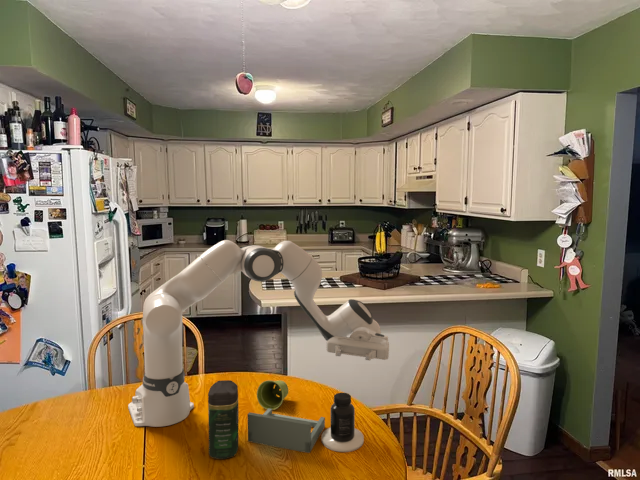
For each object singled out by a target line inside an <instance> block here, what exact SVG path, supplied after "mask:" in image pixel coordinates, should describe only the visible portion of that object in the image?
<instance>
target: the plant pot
mask: <svg viewBox="0 0 640 480" xmlns="http://www.w3.org/2000/svg"><path fill="white" fill-rule="evenodd" d="M257 387H258V388H257V391H256V398H257V402H258V404H259V405H260V406H261V407H262V408H264V409H265V410H267V409H268V408H270V409H272V411H274V410H277V409H279V407H281V406H282V404H283V402H284V400H285V398H286V397H287V396H288V394H289V387H288V384H287V383H286V382H285V381H284V380H281V379H280V380H279V379H278V380H270V379H269V380H268V379H267V380H265V381H262V382H261V383H260V384H259V386H257Z"/></svg>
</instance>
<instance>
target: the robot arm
mask: <svg viewBox="0 0 640 480" xmlns="http://www.w3.org/2000/svg"><path fill="white" fill-rule="evenodd" d="M237 272H242V273H243V274H244V275H245V276H246V277H248V278H249V279H250V280H252V281H254V282H260V283H261V282H266V281H269V280H271V279H272V278H274V277H275V276H277V275H278V274H282V275H283V276H284V277H285V278H286V279H287V280H288V281H290V283H291V284H292V286H293V287H294V292H293V295H294V298H295V300H296V302H297V303H298V304H299V306H300V307H301V309H302V310H303V311H304V313H305V314H306V315H307V316H308V317H309V319H310V320H311V321H312V323H314V325H315V326H316V328H317V330H318V331H319V332H320V334H321V336H322V337H323V338H324V340H325V341H326V344H325V348H326V352H327V353H332V354H335V357H341V356H342V355H346V356H347V355H348V356H354V357H360V358H361V357H362V358H365V359H364V360H365V361H371V360H375V359H376V360H384V361H385V360H388V359H389V358H390V357H389V356H390V342H389V337H388V335H386V334H382V331H381V326H380V324H379V323H378V321H376V320H375V319H374V317H373V314H372V313H371V311H370V309H369V308H368V306H367V305H366V304H365V303H364V302H362V301H360V300H357V299H348V300H346V302H344V303H343V304H341V306H339V307H338V308H337V309H335V311H333V312H332V313H331V314H329V315H326V314H324V313H323V311H322V309H320V307H319V306H318V305H317V304H316V302H315V301H314V297H315V294H316V293H317V291H318V289H319V287H320V285H321V282H322V278H323V270H322V267H321V265H320V263H319V262H318V261H317V260H315V258H314V257H312V256H311V255H310V254H309V253H308V252H307V251H306V250H305V249H303V248H302V246H301V247H300V246H299V245H297V244H296V243H294V242H293V241H291V240H283V241H280V242H279V243H278V244H276V246H274V247H273V248H267V247H265V246H263V245H258V244H248V245H245V246H239V245H237V243H235V242H233V240H229V239H224V240H221V241H218V242H217V243H216V244H214V245H212V246H210V247H209V248H208V249H206V250H205V251H204V252H202V253H201V254H200V255H199V256H198V257H197V258H195V259H194V260H193V261H192V262H190V263H189V264H188V265H187V266H186V267H185V268H184V269H182V270H181V271H180V272H179V273H177V274H176V275H174V276H173V277H172V278H171V277H170V279H169V280H167V281H166V282H164V283H163V284H162V285H160V286H159V287H158V288H156V289H155V290H154V291H152V292H151V293H150V294H148V296H147V297H145V300H144V302H143V307H142V308H143V309H142V329H143V330H142V333H143V351H144V374H143V377H142V384H141V385H139V387H137V388H136V390H135V395H133V396H132V397H131V402H130V403H128V405H127V406H128V407H127V408H128V411H129V414H130V417H131V419H132V422H133V425H134V426H135V427H152V428H153V427H154V428H155V427H156V428H157V427H161V428H162V427H166V426H171V425H174V424H177V423H180V422H182V421H183V420H185V419H186V418H188V417H189V415H190V411H191V410H192V409H194V407H195V406H194V402H191V400H190V399H191V398H190V389H189V384H188V383H187V382H185V376H186V375H185V370H184V368H183V367H184V366H183V313H184V312H185V310H187V309H188V308H190V307H192V306H193V305H195V304H197V303H198V302H200V301H202V300H204V299H205V298H207V297H208V296H209V295H210V294H211V293H212V292H213V291H215V289H217V288H218V287H219V286H220V285H221V284H223V282H225V281H226V280H227V279H228V278H229V277H230V276H231V275H234V274H235V273H237ZM348 336H349V337H348Z"/></svg>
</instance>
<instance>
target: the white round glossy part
mask: <svg viewBox="0 0 640 480" xmlns="http://www.w3.org/2000/svg"><path fill="white" fill-rule="evenodd" d="M320 436H321V438H320V440H321V443H322V445H323V446H324V447H325V448H327V449H329V450H331V451H333V452H337V453H338V452H339V453H350V452H354V451H357V450H359V449H360V448H361V447H362V446H363V445H364V441H365V439H364V438H365V437H364V434H363V432H362V431H361V430H359V429H357V428H355V432H354V438H353V439H352V440H351V441H348V442H338V441H335V440H334V439H332V437H331V426H330V427H327V428H326V429H325V430H323V431H322V433H321V435H320Z"/></svg>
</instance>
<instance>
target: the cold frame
mask: <svg viewBox="0 0 640 480" xmlns="http://www.w3.org/2000/svg"><path fill="white" fill-rule="evenodd" d="M325 420H326V417H323V416H320V418H319V419H318V420H313V419H309V418H308V419H307V418H301V417H295V416H291V415H290V416H289V415H283V414H279V413H273V410H272V409H270V408H268V409H265V412H264V413H263V414H261V413H256V412H248V413H247V442H249V443H254V444H259V445H264V446H270V447H275V448H280V449H285V450H291V451H297V452H301V453H307V454H310V453H311V451H312V450H313V448H314V447H315V445H316V442H317V441H318V439H319V437H320V436H321V435H322V433H323V432H324V429H325V426H326V421H325ZM312 428H313V429H312Z"/></svg>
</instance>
